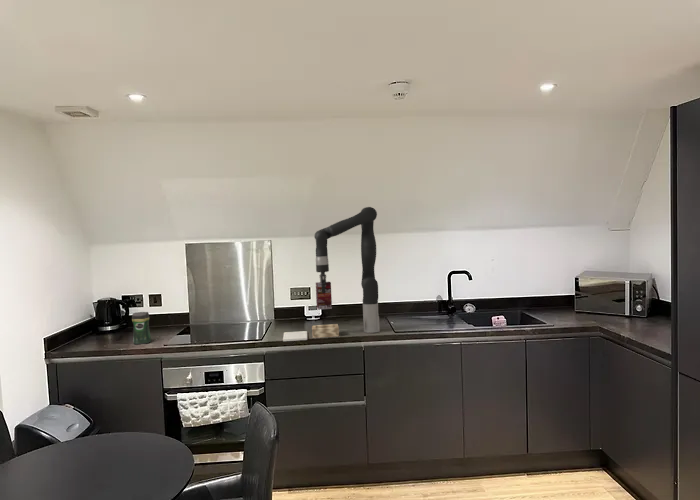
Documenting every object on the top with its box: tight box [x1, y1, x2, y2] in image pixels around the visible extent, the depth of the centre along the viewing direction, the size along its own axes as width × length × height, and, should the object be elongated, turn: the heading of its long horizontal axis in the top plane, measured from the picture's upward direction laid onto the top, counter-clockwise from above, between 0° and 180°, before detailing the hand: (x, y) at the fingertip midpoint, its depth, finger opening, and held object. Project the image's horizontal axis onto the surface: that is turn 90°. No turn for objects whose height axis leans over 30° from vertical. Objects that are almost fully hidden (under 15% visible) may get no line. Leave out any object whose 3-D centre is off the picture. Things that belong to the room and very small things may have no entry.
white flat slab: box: [282, 330, 308, 342], centre depth 315 cm, size 14×20×1 cm
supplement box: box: [315, 281, 333, 310], centre depth 315 cm, size 9×5×16 cm, turn 105°
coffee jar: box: [131, 311, 152, 345], centre depth 315 cm, size 10×8×19 cm
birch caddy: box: [311, 323, 340, 339], centre depth 316 cm, size 16×12×5 cm
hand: (323, 292), depth 315 cm, fingers closed on supplement box, 5 cm apart
